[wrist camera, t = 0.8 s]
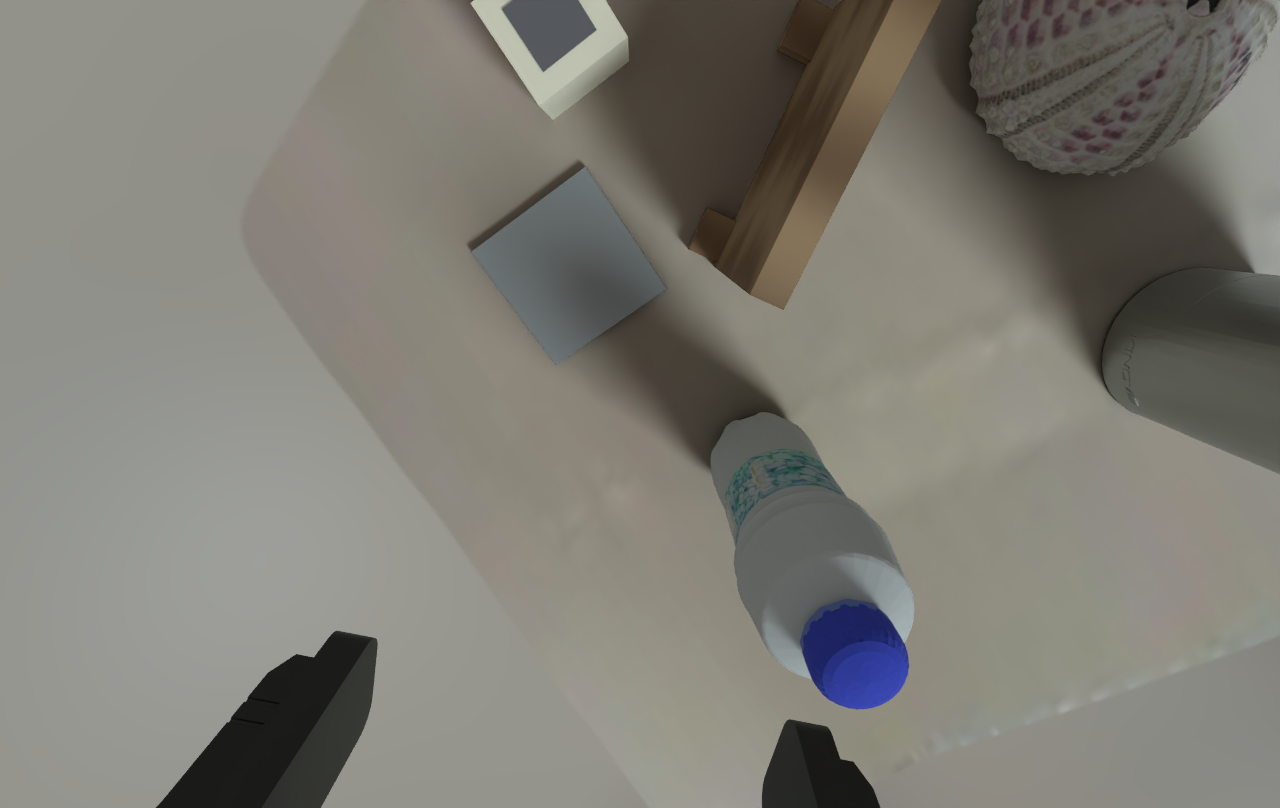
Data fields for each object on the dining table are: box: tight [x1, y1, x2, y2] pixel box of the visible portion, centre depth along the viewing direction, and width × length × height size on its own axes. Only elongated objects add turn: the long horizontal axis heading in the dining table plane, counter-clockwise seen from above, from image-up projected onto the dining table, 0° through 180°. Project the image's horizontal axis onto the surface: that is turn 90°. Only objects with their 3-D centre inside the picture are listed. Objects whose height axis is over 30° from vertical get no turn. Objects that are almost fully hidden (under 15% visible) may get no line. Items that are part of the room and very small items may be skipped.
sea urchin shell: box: [969, 0, 1280, 176], centre depth 28 cm, size 13×14×8 cm
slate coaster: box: [471, 167, 667, 365], centre depth 35 cm, size 8×8×1 cm
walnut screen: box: [688, 0, 941, 310], centre depth 28 cm, size 14×5×12 cm, turn 156°
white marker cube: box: [471, 0, 629, 120], centre depth 30 cm, size 5×5×5 cm
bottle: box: [710, 412, 914, 709], centre depth 30 cm, size 7×7×20 cm
